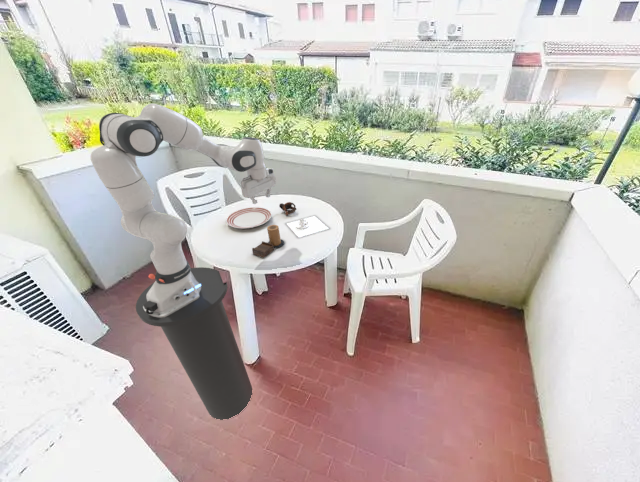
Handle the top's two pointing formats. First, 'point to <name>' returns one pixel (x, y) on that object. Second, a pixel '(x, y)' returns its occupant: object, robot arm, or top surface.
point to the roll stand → (263, 249)
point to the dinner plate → (248, 217)
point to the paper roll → (274, 235)
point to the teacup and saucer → (307, 226)
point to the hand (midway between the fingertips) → (261, 200)
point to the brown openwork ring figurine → (288, 207)
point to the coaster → (279, 245)
